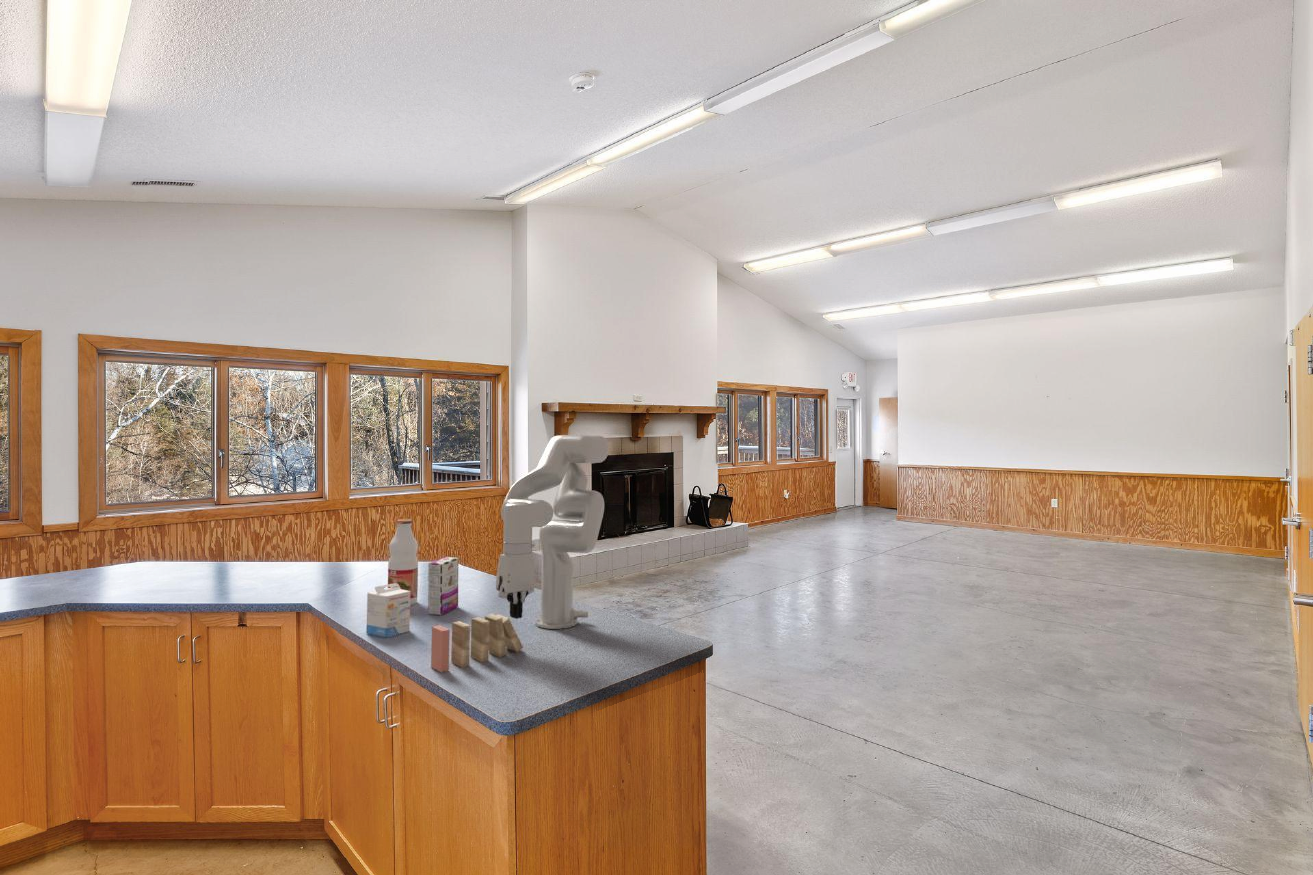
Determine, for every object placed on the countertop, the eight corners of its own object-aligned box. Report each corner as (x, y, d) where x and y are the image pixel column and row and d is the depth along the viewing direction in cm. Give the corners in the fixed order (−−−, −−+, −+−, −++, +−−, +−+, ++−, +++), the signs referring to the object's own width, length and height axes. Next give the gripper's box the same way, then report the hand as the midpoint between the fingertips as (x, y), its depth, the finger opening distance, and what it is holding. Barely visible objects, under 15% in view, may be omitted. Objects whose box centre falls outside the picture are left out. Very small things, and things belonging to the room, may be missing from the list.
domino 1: (438, 665, 166) (439, 625, 166) (448, 670, 163) (449, 629, 163) (431, 667, 165) (431, 626, 165) (441, 672, 162) (442, 631, 161)
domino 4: (495, 649, 178) (491, 613, 177) (506, 654, 175) (502, 617, 174) (489, 652, 177) (484, 616, 176) (500, 657, 174) (495, 620, 172)
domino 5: (512, 643, 182) (497, 614, 179) (523, 647, 179) (508, 617, 175) (506, 648, 181) (491, 618, 177) (517, 652, 178) (502, 622, 174)
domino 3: (477, 655, 174) (478, 617, 174) (488, 660, 171) (489, 620, 171) (470, 657, 173) (471, 618, 173) (481, 662, 170) (482, 622, 170)
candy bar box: (444, 605, 223) (445, 556, 223) (458, 607, 222) (459, 557, 222) (426, 614, 212) (427, 562, 212) (441, 615, 211) (442, 563, 211)
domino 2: (458, 660, 170) (459, 621, 170) (469, 665, 167) (470, 625, 167) (451, 662, 169) (452, 622, 169) (461, 667, 166) (462, 626, 166)
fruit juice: (423, 602, 227) (425, 519, 227) (401, 608, 219) (403, 522, 219) (403, 598, 231) (405, 517, 231) (380, 604, 223) (382, 520, 223)
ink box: (385, 638, 187) (386, 590, 187) (365, 633, 191) (366, 586, 191) (410, 630, 195) (411, 584, 195) (390, 626, 199) (391, 580, 199)
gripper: (531, 544, 188) (530, 609, 188) (485, 549, 177) (483, 619, 177) (548, 547, 183) (547, 615, 183) (502, 553, 172) (500, 625, 172)
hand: (516, 617), depth 180 cm, fingers closed
